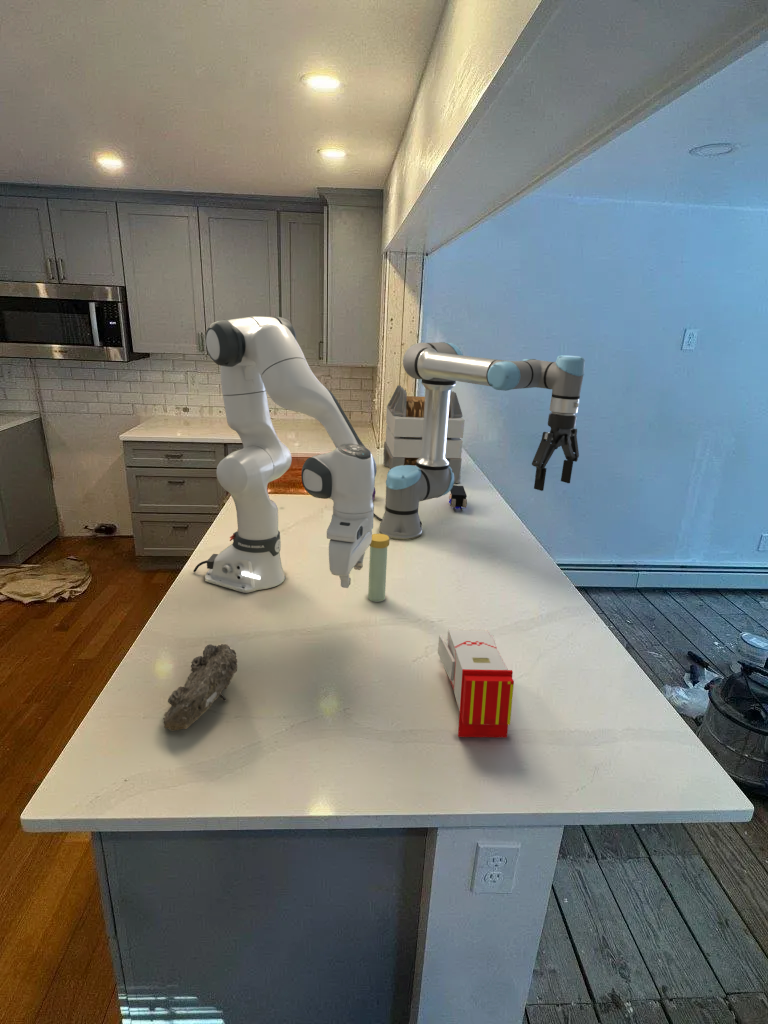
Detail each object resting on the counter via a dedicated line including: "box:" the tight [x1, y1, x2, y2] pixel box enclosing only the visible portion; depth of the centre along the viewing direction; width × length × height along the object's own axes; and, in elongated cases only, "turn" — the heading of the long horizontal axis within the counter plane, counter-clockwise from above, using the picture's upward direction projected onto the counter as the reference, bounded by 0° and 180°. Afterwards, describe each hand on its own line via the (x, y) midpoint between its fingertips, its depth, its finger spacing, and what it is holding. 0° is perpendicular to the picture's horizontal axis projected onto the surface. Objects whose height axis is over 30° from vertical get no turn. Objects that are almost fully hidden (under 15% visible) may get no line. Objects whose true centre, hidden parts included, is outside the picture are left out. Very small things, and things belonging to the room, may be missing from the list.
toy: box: [437, 628, 515, 738], centre depth 117 cm, size 12×13×30 cm
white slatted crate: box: [383, 384, 465, 484], centre depth 268 cm, size 34×33×41 cm
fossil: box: [162, 643, 238, 732], centre depth 111 cm, size 22×10×15 cm
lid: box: [369, 533, 390, 548], centre depth 150 cm, size 6×6×2 cm
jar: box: [367, 545, 388, 603], centre depth 152 cm, size 5×5×17 cm
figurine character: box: [448, 484, 468, 512], centre depth 228 cm, size 7×8×15 cm
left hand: (352, 577), depth 128 cm, fingers open, 8 cm apart
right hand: (552, 485), depth 166 cm, fingers open, 13 cm apart
